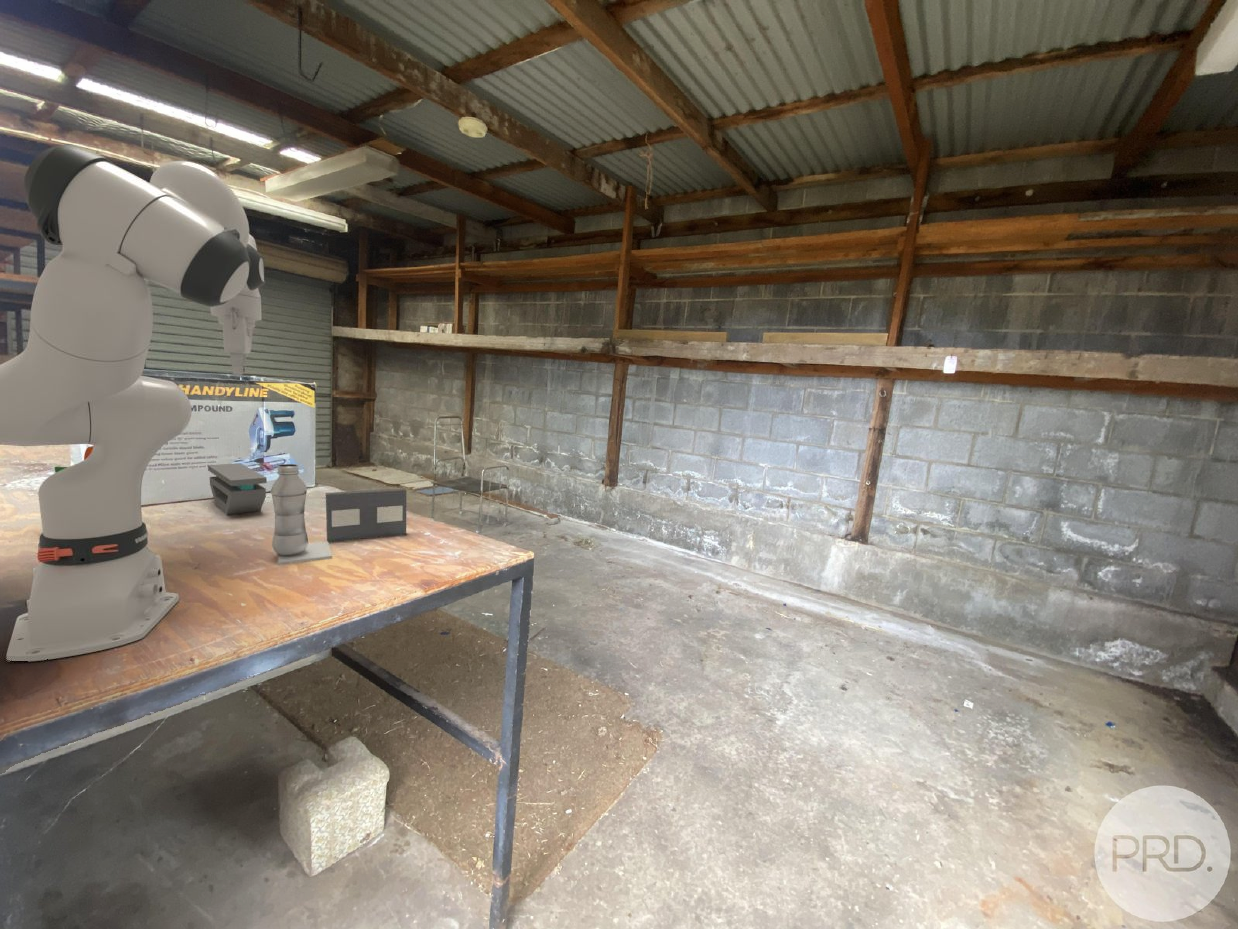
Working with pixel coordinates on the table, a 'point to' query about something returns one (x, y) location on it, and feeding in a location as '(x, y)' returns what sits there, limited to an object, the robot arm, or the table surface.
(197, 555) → the table surface
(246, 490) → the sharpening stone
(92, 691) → the table surface
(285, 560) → the rubber pad
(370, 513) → the panel
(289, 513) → the plastic bottle
